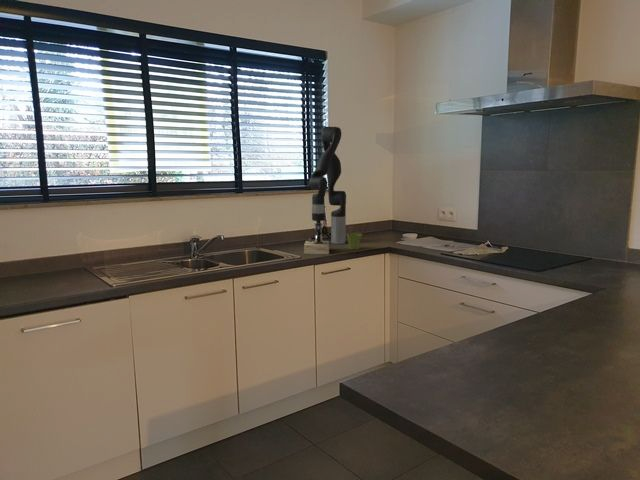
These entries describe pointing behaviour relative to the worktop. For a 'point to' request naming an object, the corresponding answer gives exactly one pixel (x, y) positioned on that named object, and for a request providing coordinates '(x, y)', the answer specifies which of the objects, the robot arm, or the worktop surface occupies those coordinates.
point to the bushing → (316, 240)
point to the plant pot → (354, 240)
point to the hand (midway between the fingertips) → (318, 241)
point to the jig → (316, 247)
